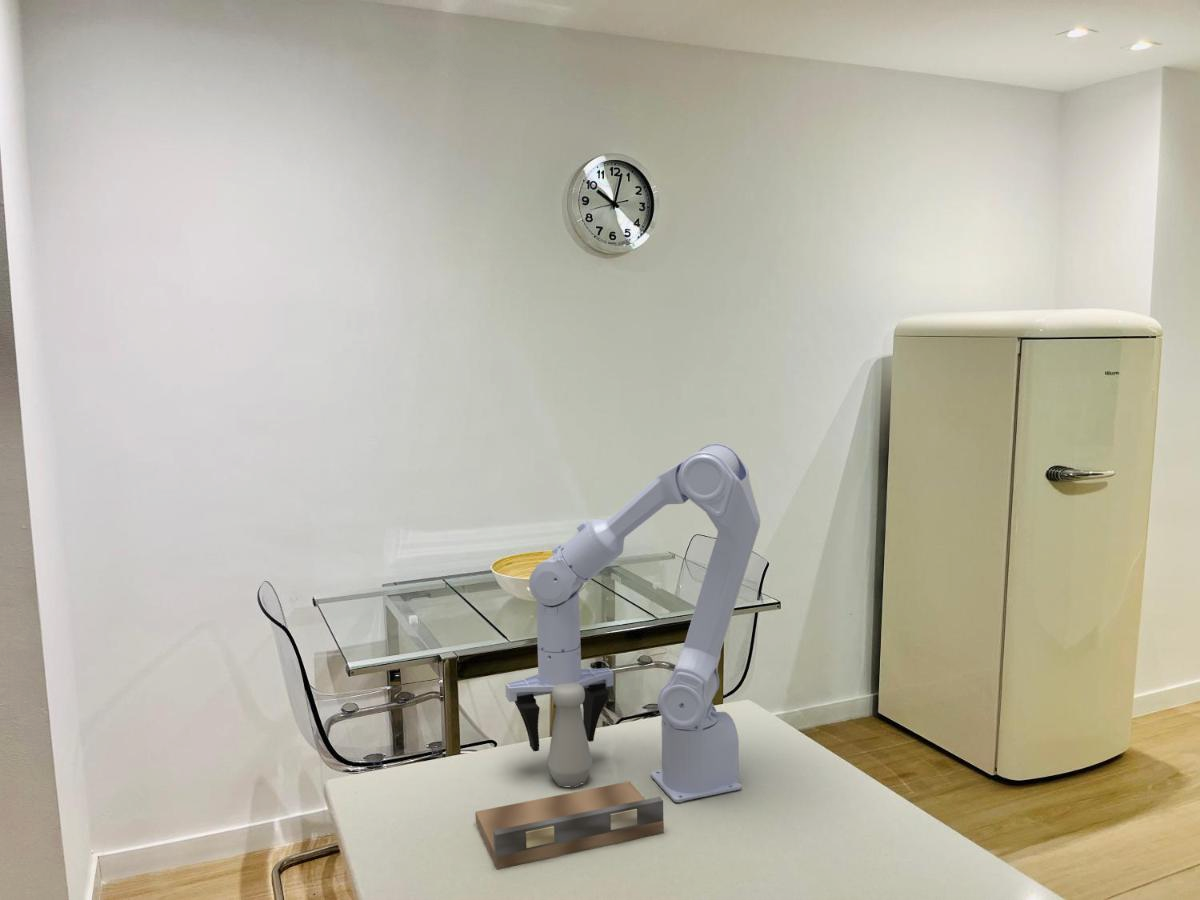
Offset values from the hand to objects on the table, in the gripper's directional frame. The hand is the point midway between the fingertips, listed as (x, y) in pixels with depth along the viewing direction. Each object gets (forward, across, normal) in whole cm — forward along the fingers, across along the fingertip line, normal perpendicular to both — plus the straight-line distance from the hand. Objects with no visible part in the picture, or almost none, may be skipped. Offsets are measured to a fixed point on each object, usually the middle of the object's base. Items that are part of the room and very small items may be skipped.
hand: (561, 743), depth 125 cm
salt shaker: (+4, 0, +4) cm, 5 cm away
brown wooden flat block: (+4, +4, +15) cm, 16 cm away
